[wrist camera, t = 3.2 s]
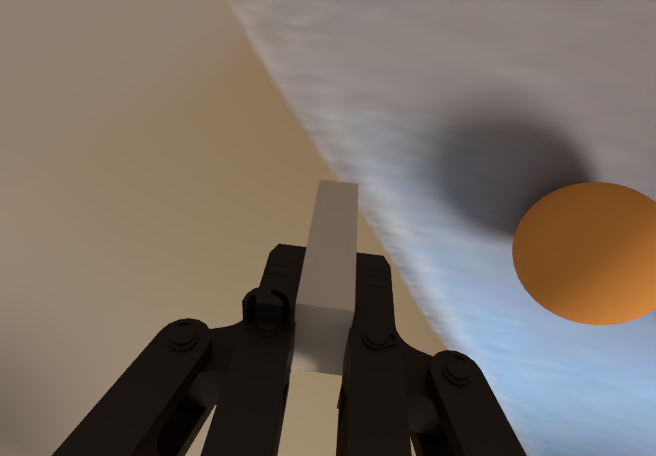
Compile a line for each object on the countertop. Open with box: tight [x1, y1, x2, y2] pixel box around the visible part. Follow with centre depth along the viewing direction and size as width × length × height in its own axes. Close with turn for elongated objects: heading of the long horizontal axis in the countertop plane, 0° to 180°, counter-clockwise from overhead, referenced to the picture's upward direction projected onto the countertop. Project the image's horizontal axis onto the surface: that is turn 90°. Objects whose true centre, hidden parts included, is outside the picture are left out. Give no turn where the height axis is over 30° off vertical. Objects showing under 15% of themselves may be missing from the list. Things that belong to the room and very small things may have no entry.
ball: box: [512, 182, 656, 325], centre depth 16 cm, size 6×6×6 cm
